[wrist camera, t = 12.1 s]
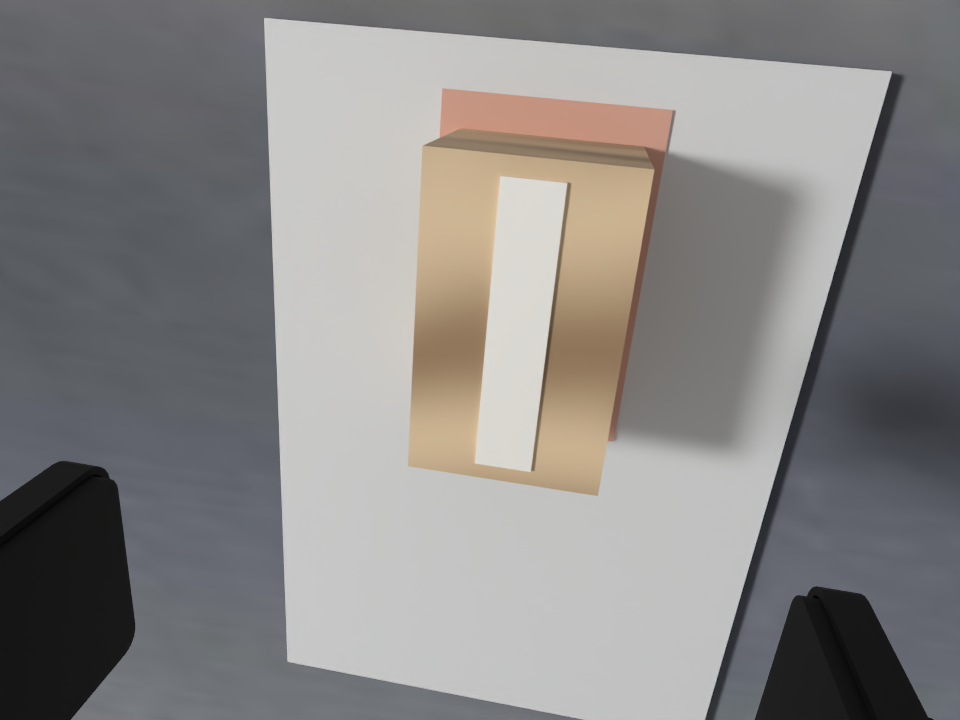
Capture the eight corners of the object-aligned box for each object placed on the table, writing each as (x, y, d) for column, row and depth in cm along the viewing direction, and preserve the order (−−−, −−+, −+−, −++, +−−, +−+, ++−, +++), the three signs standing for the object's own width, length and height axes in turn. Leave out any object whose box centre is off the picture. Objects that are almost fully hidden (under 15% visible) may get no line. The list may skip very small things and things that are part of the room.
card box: (460, 128, 22) (421, 146, 17) (643, 146, 21) (654, 170, 16) (443, 393, 25) (407, 467, 21) (599, 415, 25) (597, 498, 20)
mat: (696, 731, 30) (699, 743, 30) (292, 653, 32) (286, 663, 32) (885, 71, 20) (893, 71, 19) (271, 19, 22) (262, 17, 21)
